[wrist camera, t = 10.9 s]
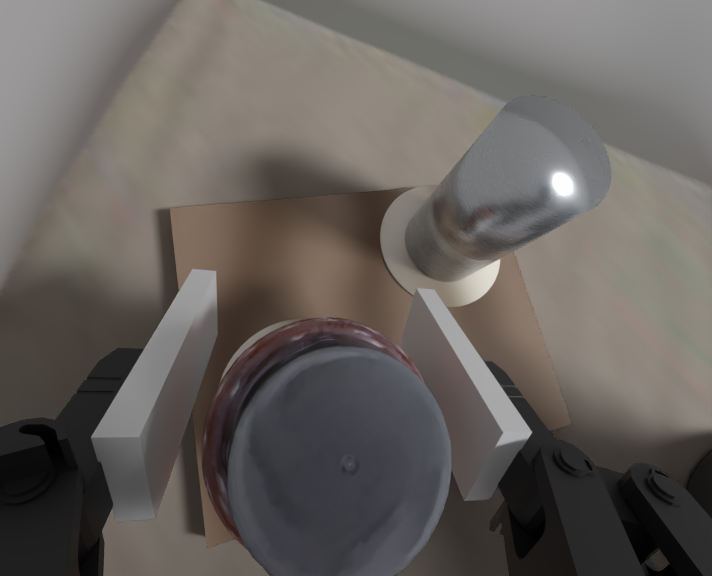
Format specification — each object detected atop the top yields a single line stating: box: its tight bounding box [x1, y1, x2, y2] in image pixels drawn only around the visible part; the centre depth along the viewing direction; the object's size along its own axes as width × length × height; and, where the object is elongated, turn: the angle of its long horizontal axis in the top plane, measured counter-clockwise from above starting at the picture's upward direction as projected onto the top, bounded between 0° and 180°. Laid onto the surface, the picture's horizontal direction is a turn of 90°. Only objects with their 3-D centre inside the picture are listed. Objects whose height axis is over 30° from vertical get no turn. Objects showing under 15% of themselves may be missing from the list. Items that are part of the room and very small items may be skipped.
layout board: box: [170, 186, 572, 548], centre depth 19 cm, size 20×16×1 cm
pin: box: [405, 95, 611, 282], centre depth 17 cm, size 5×5×9 cm
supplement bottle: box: [201, 317, 452, 576], centre depth 11 cm, size 6×6×11 cm
